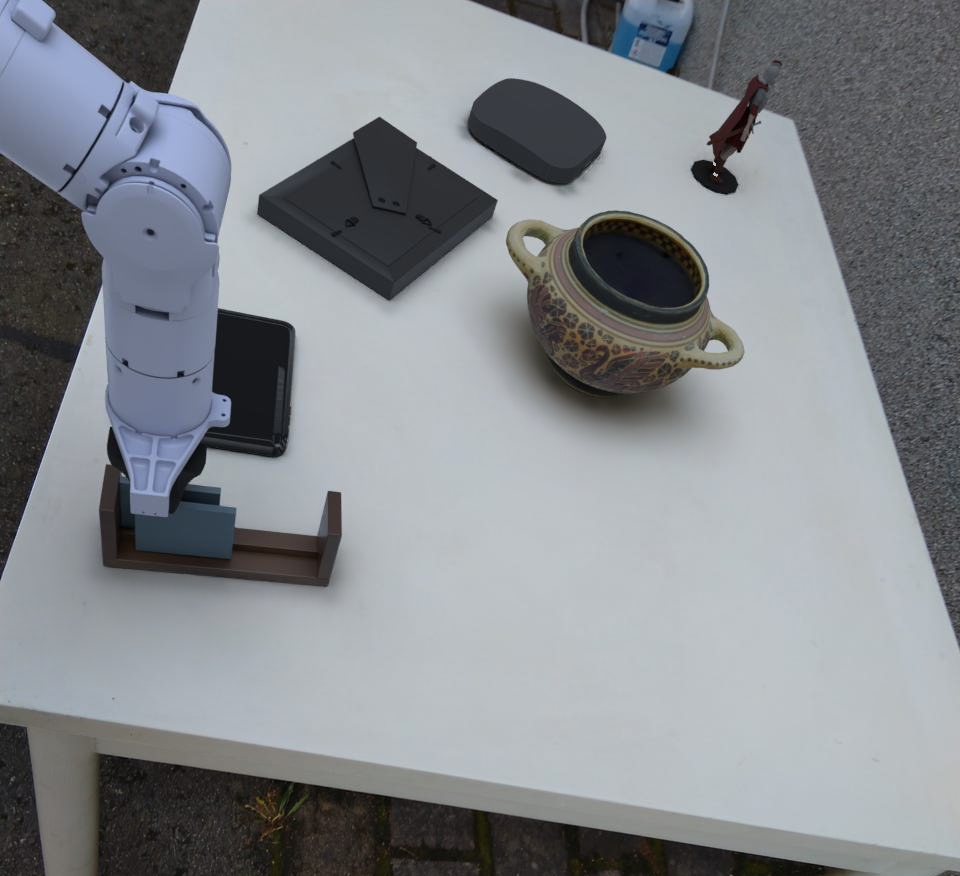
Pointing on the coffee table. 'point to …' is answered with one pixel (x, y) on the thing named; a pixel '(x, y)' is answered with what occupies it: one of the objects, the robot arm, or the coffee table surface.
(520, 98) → the media streaming box
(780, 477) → the coffee table surface
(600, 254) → the ceramic bowl
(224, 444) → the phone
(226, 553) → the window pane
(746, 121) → the figurine
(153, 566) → the window frame
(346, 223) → the picture frame
